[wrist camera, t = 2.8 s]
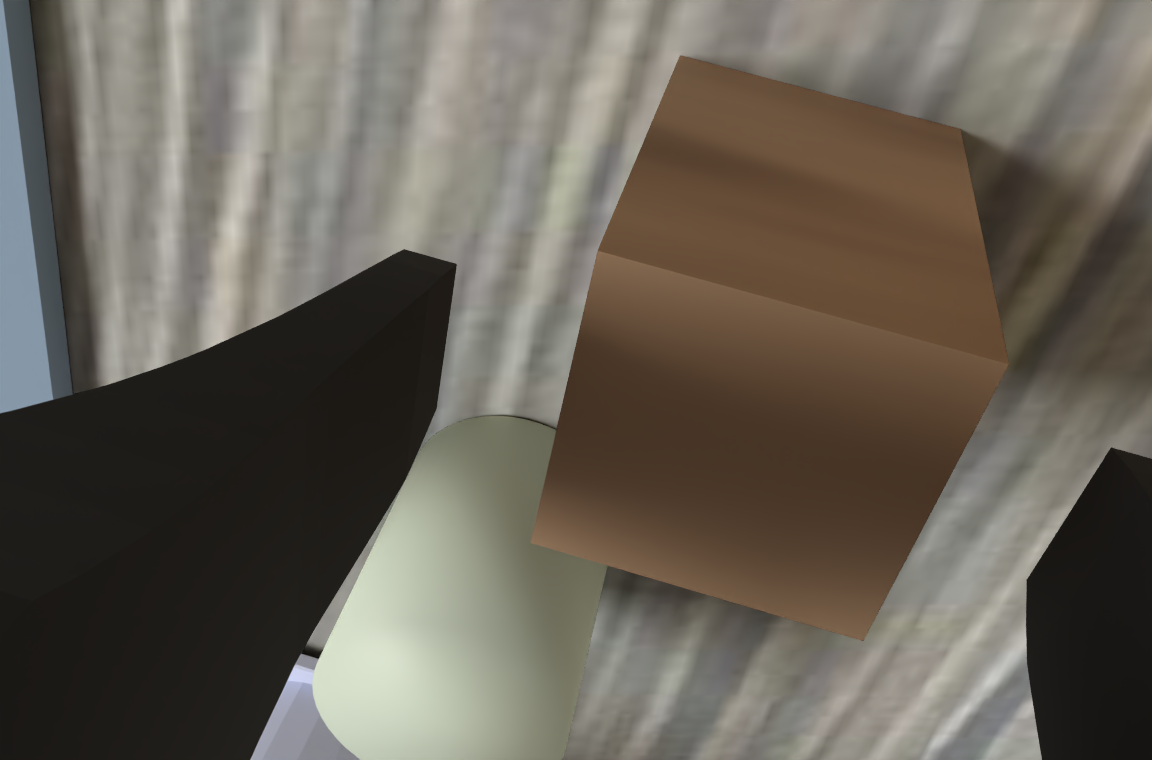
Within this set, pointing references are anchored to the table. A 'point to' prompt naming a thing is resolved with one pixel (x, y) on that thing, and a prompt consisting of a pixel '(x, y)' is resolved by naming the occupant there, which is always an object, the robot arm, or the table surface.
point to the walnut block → (775, 351)
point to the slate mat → (26, 231)
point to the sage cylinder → (463, 612)
